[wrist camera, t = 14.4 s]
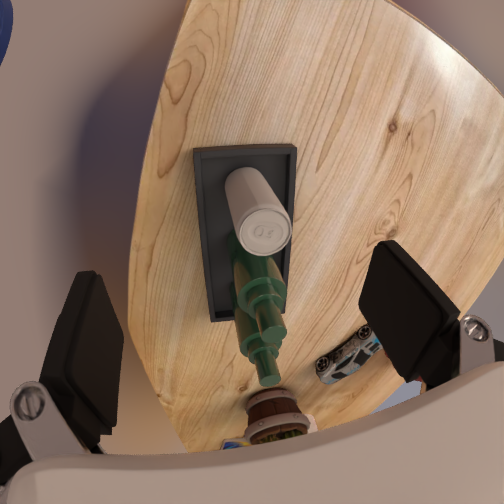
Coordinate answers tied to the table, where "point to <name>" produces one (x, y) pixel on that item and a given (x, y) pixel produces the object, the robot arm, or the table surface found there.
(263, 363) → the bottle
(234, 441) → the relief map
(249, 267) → the middle bottle
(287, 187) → the tray
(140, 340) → the table surface
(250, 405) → the flowerpot
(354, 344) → the toy car
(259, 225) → the beverage can
